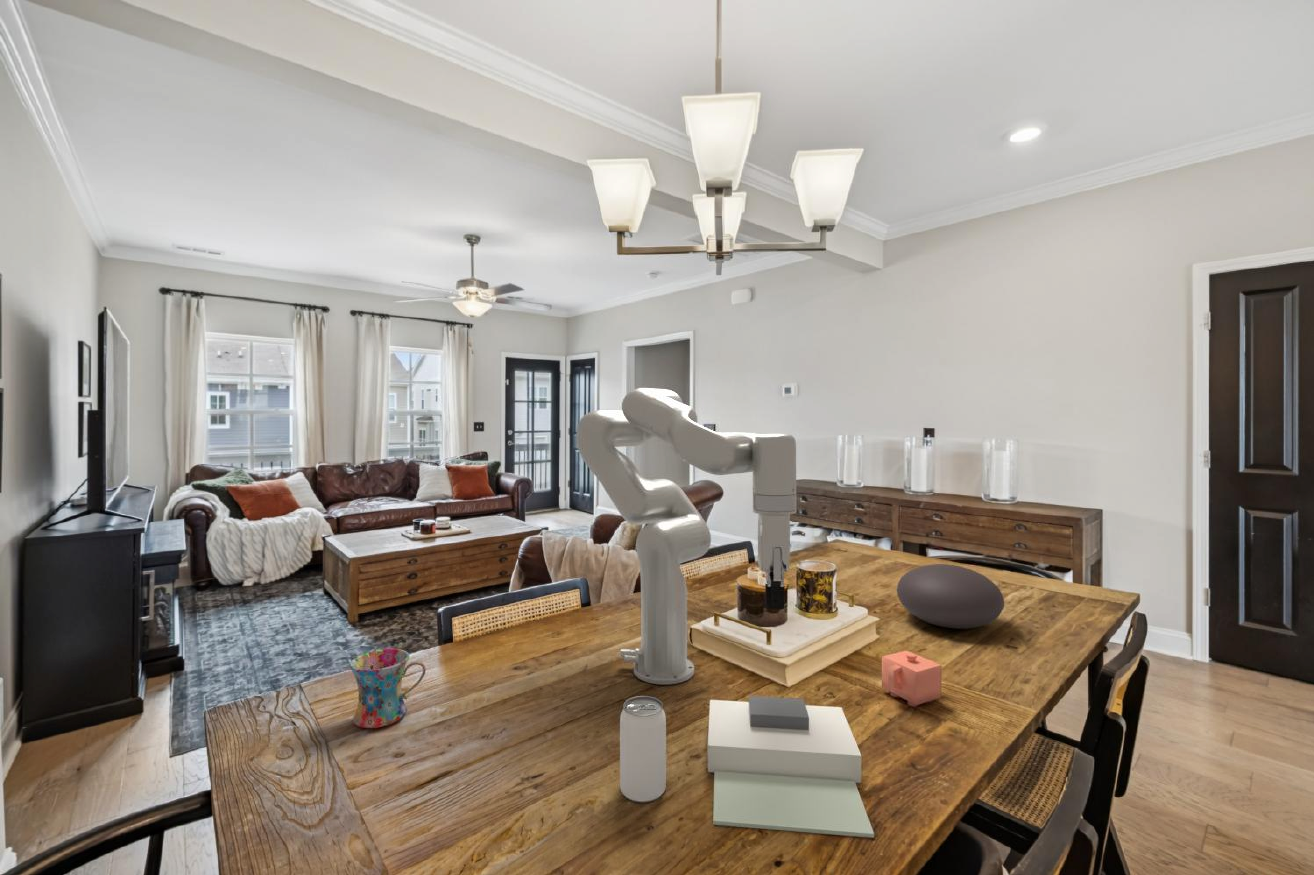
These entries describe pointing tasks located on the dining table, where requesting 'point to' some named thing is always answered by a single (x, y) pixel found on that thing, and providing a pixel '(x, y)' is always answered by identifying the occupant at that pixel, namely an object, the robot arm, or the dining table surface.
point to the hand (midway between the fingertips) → (774, 607)
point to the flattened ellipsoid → (950, 596)
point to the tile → (778, 713)
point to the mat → (789, 804)
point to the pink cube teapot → (911, 677)
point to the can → (642, 749)
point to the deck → (782, 745)
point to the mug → (381, 686)
